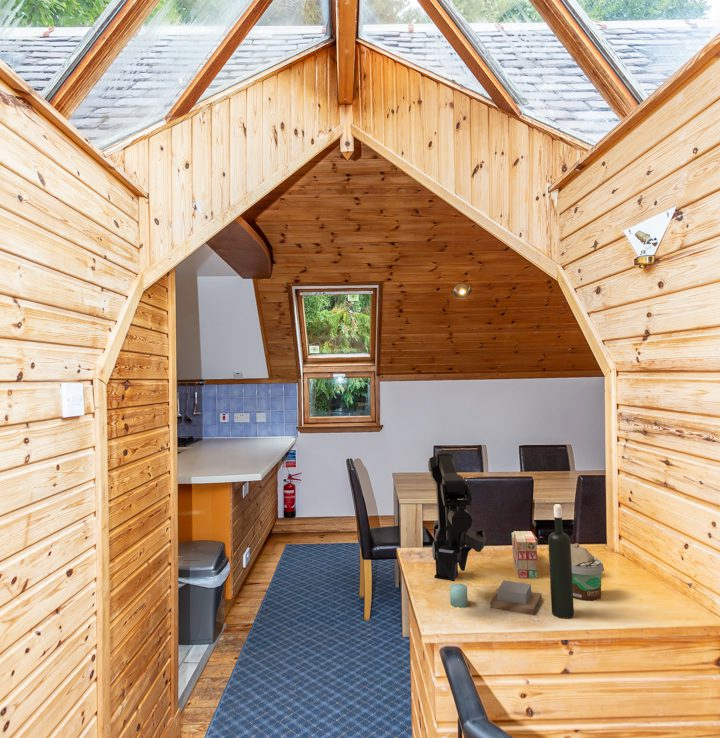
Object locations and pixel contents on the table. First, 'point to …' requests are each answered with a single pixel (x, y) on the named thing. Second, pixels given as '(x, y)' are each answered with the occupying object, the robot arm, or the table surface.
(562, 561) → the wine bottle
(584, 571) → the food container
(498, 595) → the grey square block
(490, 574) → the table surface
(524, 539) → the stack of blocks
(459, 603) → the teal round block
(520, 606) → the tower base slab
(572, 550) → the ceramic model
